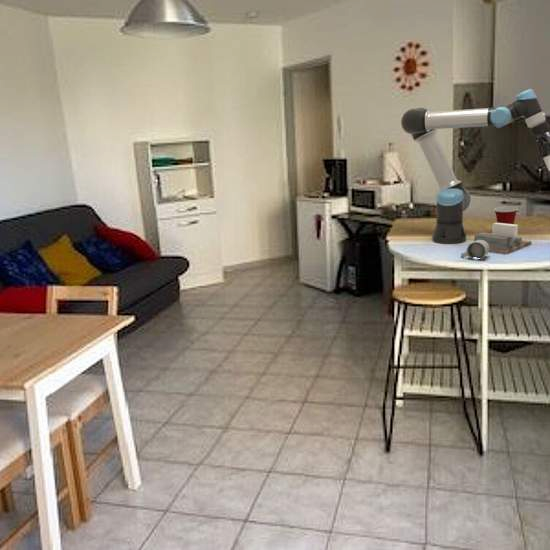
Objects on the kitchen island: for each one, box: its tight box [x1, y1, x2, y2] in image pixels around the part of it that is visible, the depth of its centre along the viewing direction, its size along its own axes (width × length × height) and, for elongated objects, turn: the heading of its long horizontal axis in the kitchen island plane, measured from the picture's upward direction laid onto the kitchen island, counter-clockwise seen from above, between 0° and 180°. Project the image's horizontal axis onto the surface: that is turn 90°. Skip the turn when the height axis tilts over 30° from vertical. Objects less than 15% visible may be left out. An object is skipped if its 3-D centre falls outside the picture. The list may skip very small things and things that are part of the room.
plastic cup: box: [493, 205, 519, 224], centre depth 274 cm, size 11×11×12 cm
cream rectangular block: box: [491, 222, 519, 239], centre depth 249 cm, size 3×10×8 cm, turn 41°
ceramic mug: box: [460, 240, 490, 260], centre depth 234 cm, size 11×8×8 cm
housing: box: [473, 232, 532, 255], centre depth 248 cm, size 22×16×6 cm
